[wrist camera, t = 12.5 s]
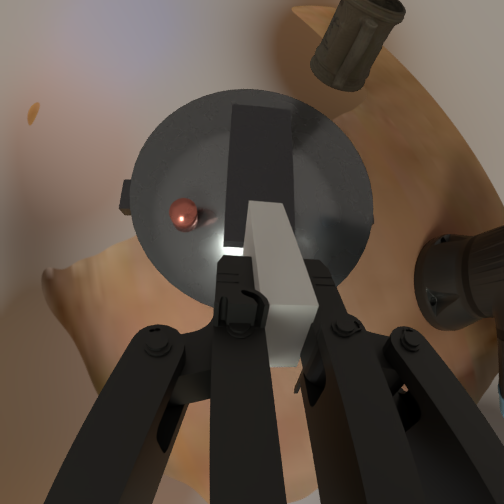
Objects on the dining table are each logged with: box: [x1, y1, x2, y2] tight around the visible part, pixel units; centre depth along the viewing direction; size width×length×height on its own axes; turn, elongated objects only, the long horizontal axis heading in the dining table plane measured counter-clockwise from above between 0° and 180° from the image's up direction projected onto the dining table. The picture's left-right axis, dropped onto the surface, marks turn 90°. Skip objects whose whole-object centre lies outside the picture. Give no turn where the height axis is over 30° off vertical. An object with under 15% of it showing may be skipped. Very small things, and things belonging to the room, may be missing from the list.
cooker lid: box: [130, 89, 373, 308], centre depth 23 cm, size 21×21×4 cm
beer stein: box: [310, 0, 406, 92], centre depth 35 cm, size 15×11×20 cm
